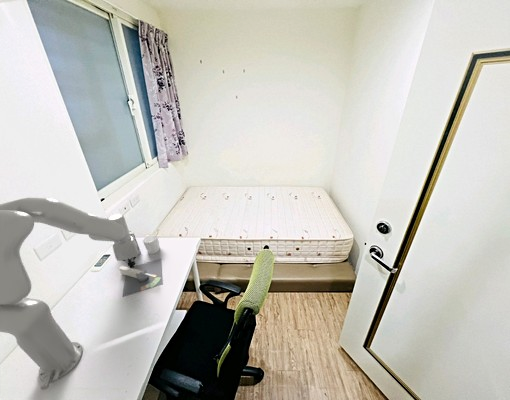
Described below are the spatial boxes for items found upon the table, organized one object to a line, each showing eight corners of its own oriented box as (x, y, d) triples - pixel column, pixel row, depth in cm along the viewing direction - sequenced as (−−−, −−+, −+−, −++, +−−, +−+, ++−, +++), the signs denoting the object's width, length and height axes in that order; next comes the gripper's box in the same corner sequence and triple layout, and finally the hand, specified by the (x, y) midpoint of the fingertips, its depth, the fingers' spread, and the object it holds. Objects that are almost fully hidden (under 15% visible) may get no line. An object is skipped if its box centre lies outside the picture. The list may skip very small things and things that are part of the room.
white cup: (163, 250, 133) (159, 237, 128) (150, 257, 128) (146, 244, 123) (157, 245, 138) (153, 232, 133) (145, 251, 133) (140, 238, 128)
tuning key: (161, 278, 112) (159, 272, 110) (154, 286, 108) (152, 280, 106) (126, 269, 119) (124, 263, 117) (119, 276, 114) (116, 270, 112)
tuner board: (163, 286, 110) (162, 284, 109) (123, 299, 104) (122, 297, 103) (161, 260, 126) (161, 258, 125) (127, 269, 120) (126, 268, 120)
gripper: (103, 246, 103) (115, 275, 111) (138, 238, 108) (147, 266, 116) (106, 237, 109) (117, 265, 117) (139, 230, 114) (147, 257, 122)
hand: (132, 266), depth 117 cm, fingers closed
